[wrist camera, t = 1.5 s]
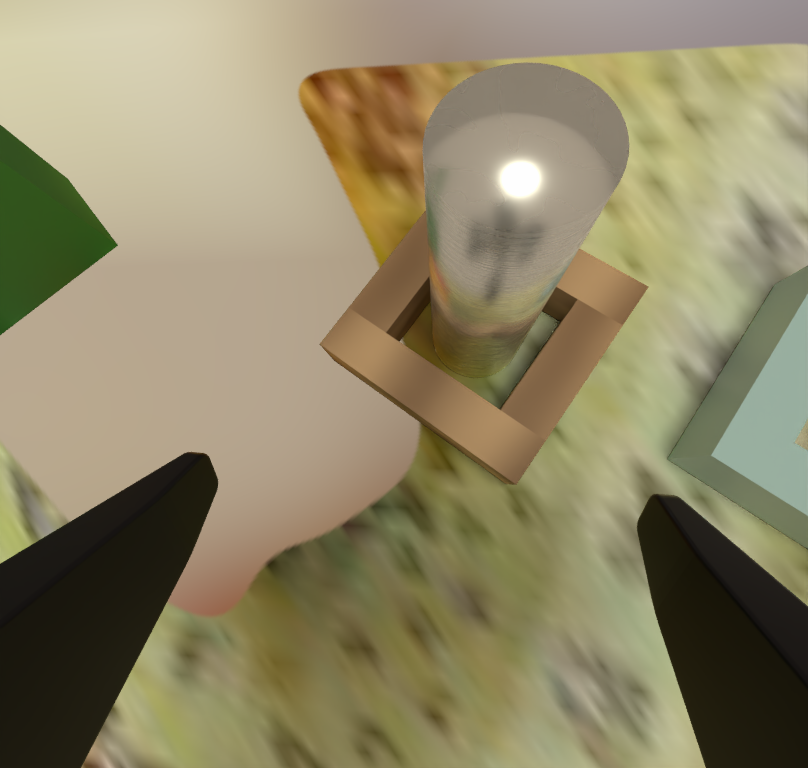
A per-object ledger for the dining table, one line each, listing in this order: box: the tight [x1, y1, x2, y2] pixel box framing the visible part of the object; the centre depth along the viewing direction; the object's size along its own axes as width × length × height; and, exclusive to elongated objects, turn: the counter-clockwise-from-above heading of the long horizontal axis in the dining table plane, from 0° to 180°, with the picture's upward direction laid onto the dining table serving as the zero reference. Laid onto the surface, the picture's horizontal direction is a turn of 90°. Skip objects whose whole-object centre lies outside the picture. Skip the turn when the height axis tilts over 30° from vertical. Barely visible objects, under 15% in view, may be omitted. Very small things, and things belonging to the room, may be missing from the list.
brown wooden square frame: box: [320, 211, 648, 485], centre depth 22 cm, size 12×12×3 cm
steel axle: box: [423, 63, 629, 378], centre depth 17 cm, size 5×5×14 cm
